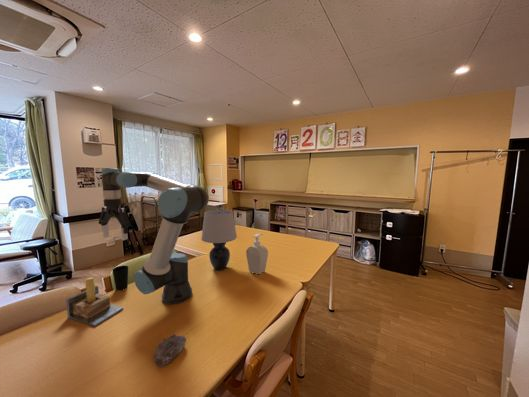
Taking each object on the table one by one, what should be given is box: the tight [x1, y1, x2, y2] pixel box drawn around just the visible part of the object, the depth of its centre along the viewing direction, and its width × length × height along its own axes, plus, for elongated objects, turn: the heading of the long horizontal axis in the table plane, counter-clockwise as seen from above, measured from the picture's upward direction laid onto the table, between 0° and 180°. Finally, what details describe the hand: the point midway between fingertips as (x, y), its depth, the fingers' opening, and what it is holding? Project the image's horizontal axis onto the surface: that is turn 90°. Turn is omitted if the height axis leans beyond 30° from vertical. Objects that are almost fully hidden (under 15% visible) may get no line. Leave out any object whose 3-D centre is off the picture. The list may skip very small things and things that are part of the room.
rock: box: [153, 333, 187, 368], centre depth 80 cm, size 8×11×5 cm
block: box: [73, 293, 111, 319], centre depth 104 cm, size 10×10×5 cm
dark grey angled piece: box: [65, 285, 124, 328], centre depth 103 cm, size 18×13×9 cm
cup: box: [111, 265, 129, 291], centre depth 126 cm, size 8×8×12 cm
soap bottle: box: [245, 233, 269, 275], centre depth 148 cm, size 12×10×26 cm
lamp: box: [200, 209, 238, 272], centre depth 152 cm, size 24×24×40 cm
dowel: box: [84, 276, 96, 304], centre depth 104 cm, size 3×3×14 cm
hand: (115, 238), depth 116 cm, fingers open, 13 cm apart
